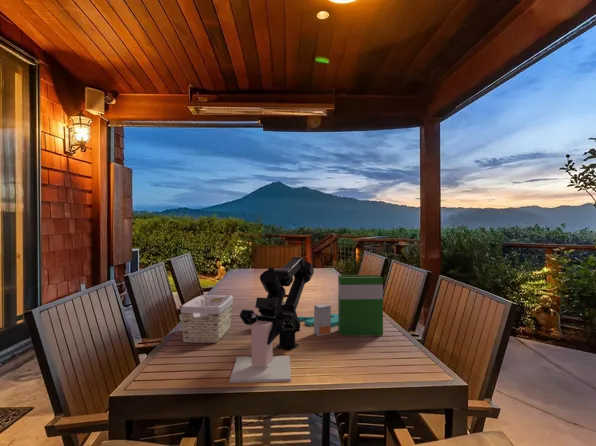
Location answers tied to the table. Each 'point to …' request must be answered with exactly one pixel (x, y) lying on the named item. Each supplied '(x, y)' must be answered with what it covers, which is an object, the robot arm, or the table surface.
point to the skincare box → (322, 320)
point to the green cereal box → (360, 305)
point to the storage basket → (206, 318)
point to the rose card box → (261, 343)
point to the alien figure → (310, 320)
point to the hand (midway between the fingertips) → (260, 343)
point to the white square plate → (261, 370)
